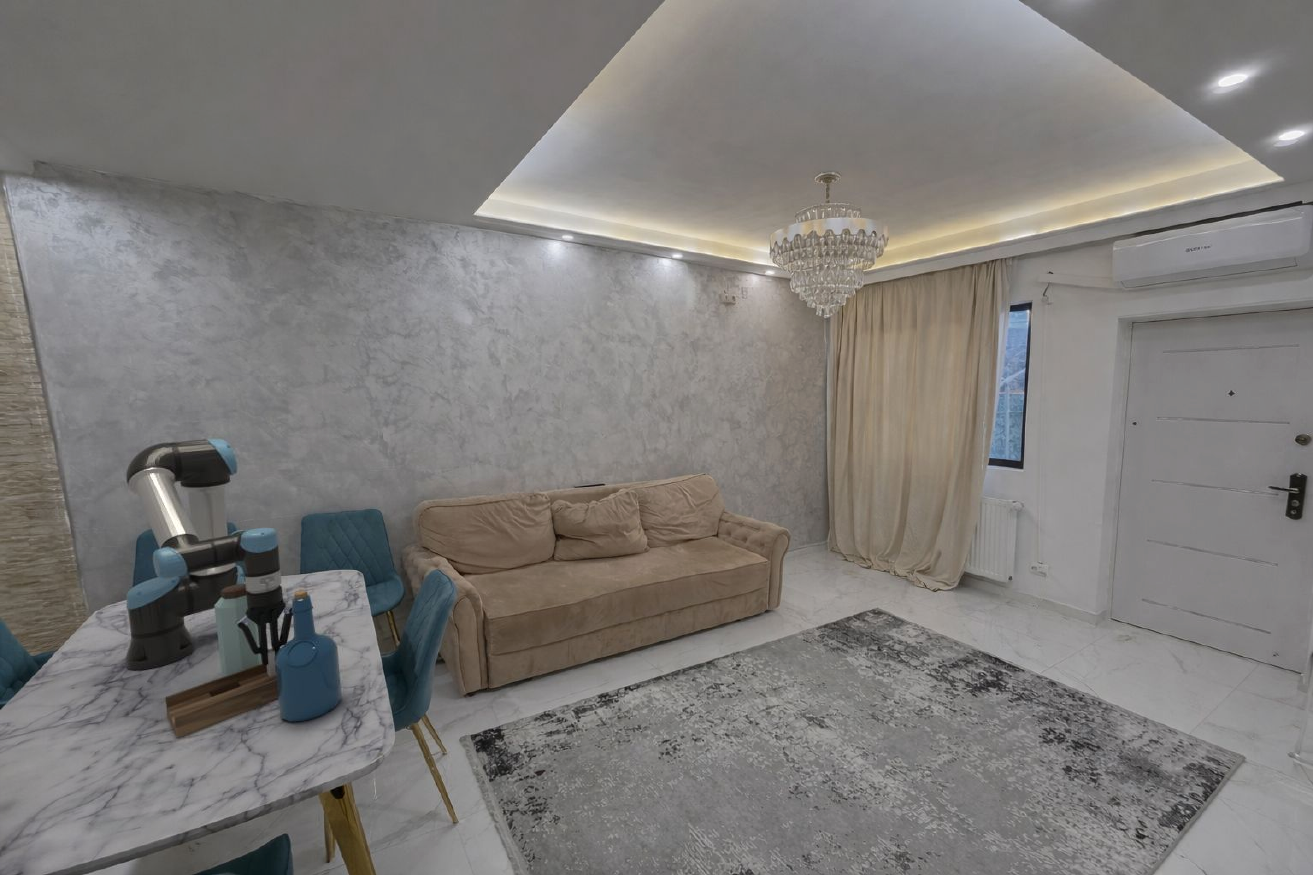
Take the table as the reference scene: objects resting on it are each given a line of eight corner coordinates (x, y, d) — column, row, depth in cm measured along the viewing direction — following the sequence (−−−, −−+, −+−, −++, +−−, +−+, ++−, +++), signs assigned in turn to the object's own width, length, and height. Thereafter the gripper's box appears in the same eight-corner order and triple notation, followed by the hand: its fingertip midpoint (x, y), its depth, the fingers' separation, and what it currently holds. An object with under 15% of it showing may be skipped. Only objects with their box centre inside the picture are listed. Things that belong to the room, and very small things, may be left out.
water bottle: (242, 685, 143) (233, 596, 140) (212, 681, 145) (202, 593, 142) (276, 665, 152) (267, 582, 150) (247, 662, 154) (238, 580, 152)
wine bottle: (286, 699, 136) (275, 587, 133) (345, 686, 141) (336, 578, 138) (272, 731, 123) (259, 608, 120) (337, 716, 128) (327, 597, 125)
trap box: (167, 716, 130) (164, 693, 129) (307, 664, 152) (305, 645, 152) (177, 738, 121) (174, 713, 121) (323, 680, 144) (321, 659, 144)
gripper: (236, 599, 131) (245, 690, 133) (297, 584, 140) (304, 668, 143) (229, 592, 135) (238, 679, 138) (288, 577, 145) (295, 659, 148)
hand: (272, 674), depth 140 cm, fingers closed
